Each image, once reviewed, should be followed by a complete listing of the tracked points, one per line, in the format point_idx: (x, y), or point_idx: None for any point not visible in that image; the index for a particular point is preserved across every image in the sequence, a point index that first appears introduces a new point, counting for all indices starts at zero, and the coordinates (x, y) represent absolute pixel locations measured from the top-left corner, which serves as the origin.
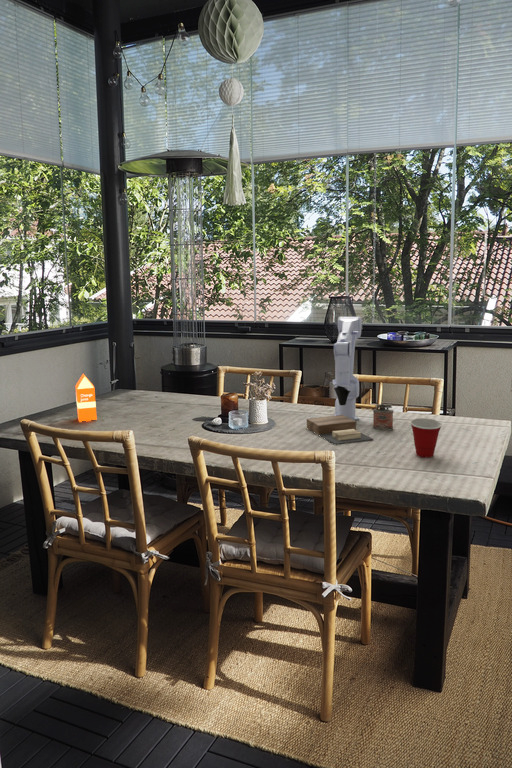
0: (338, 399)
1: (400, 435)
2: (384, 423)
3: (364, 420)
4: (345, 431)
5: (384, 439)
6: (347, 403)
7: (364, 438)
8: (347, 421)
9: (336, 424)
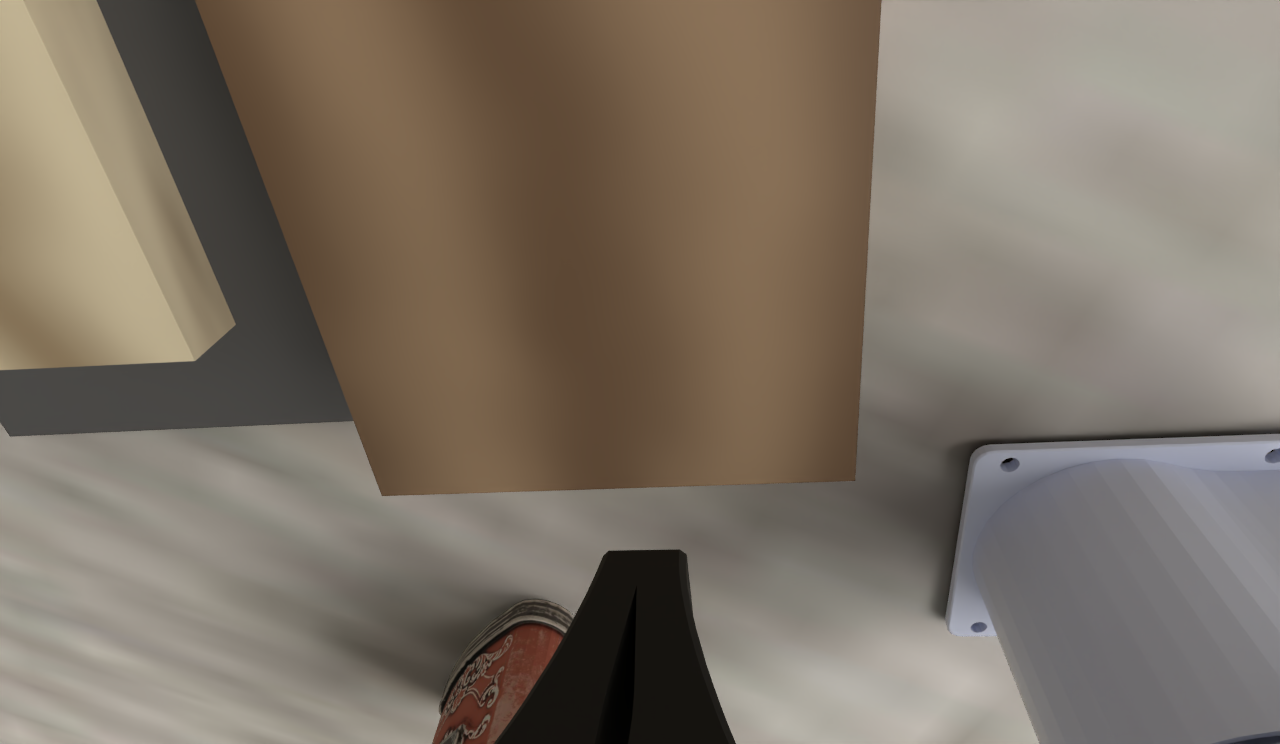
0: (670, 645)
1: (227, 673)
2: (449, 712)
3: (887, 646)
4: (27, 198)
5: (72, 525)
6: (1083, 728)
7: None
8: (399, 395)
9: (269, 168)
